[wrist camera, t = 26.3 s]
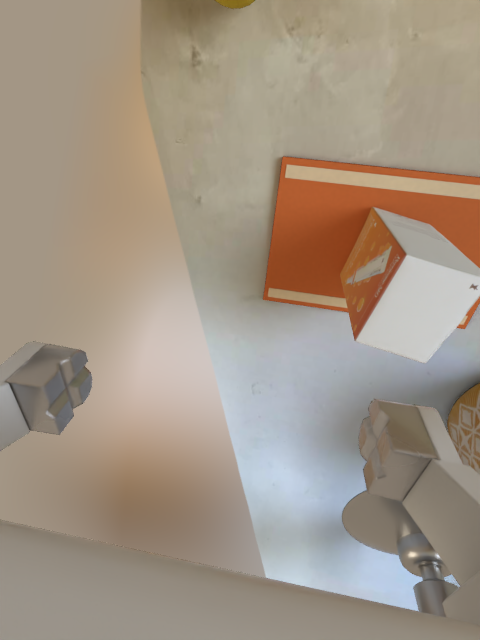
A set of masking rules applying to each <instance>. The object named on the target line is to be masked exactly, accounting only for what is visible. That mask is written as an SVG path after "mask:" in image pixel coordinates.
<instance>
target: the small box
mask: <svg viewBox="0 0 480 640" xmlns="http://www.w3.org/2000/svg"><path fill="white" fill-rule="evenodd" d="M340 277H341V282H342V286H343V290H344V294H345V299H346V304H347V308H348V312H349V317H350V321H351V326H352V330H353V335H354V339H355V341H356V342H358V343H362V344H365V345H368V346H371V347H375V348H378V349H381V350H384V351H387V352H391V353H394V354H397V355H400V356H403V357H406V358H409V359H412V360H415V361H418V362H421V363H426V362H427V361H428V360H429V359H430V358H431V357H432V356H433V354H434V353H435V352H436V351H437V350H438V348H439V347H440V346H441V345H442V343H443V342H444V341H445V340H446V339H447V337H448V336H449V335H450V334H451V333H452V332H453V331H454V330H455V329H456V328H457V326H458V325H459V324H460V323H461V321H462V320H463V318H464V317H465V315H466V314H467V312H468V311H469V310H470V308H471V307H472V306H473V304H474V303H475V302H476V301H477V299H478V298H479V297H480V268H479V267H478V266H476V265H475V264H474V263H473V262H472V261H471V260H470V259H468V258H467V257H466V256H465V255H464V254H463V253H462V252H461V251H460V250H458V249H457V248H456V247H455V246H454V245H453V244H452V243H451V242H450V241H449V240H447V239H446V238H445V237H444V236H443V235H442V234H441V233H439V232H438V231H437V230H436V229H435V228H433V227H432V226H431V225H430V224H427V223H423V222H420V221H417V220H414V219H410V218H407V217H404V216H401V215H398V214H395V213H391V212H388V211H385V210H382V209H379V208H376V207H372V208H371V210H370V213H369V215H368V217H367V220H366V222H365V224H364V226H363V228H362V230H361V233H360V235H359V237H358V239H357V241H356V243H355V245H354V247H353V249H352V251H351V253H350V255H349V257H348V259H347V261H346V263H345V265H344V267H343V269H342V271H341V273H340Z"/></svg>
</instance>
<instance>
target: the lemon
mask: <svg viewBox="0 0 480 640" xmlns="http://www.w3.org/2000/svg"><path fill="white" fill-rule="evenodd" d="M215 1H217V2H218V3H219V4H221V5H222V6H225V7H228V8H232V9H233V8H243V7H246V6H248V5H250V4H251V3H253V2H254V1H255V0H215Z"/></svg>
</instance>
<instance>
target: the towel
mask: <svg viewBox="0 0 480 640" xmlns="http://www.w3.org/2000/svg"><path fill="white" fill-rule="evenodd" d="M372 207H376V208H379V209H382V210H385V211H388V212H391V213H395V214H398V215H401V216H404V217H407V218H410V219H414V220H417V221H420V222H423V223H427V224H430V225H431V226H432V227H433V228H435V229H436V230H437V231H438V232H439V233H441V234H442V235H443V236H444V237H445V238H446V239H447V240H449V241H450V242H451V243H452V244H453V245H454V246H455V247H456V248H457V249H458V250H460V251H461V252H462V253H463V254H464V255H465V256H466V257H467V258H468V259H470V260H471V261H472V262H473V263H474V264H475V265H476V266H478V267H479V268H480V177H472V176H463V175H453V174H444V173H435V172H425V171H416V170H406V169H397V168H388V167H378V166H369V165H359V164H350V163H341V162H331V161H322V160H312V159H303V158H294V157H284V156H283V158H282V165H281V173H280V180H279V187H278V195H277V202H276V209H275V217H274V224H273V231H272V239H271V246H270V253H269V261H268V268H267V275H266V283H265V290H264V297H263V300H269V301H276V302H283V303H290V304H296V305H303V306H310V307H317V308H324V309H331V310H338V311H345V312H348V308H347V304H346V299H345V294H344V290H343V286H342V282H341V277H340V273H341V271H342V269H343V267H344V265H345V263H346V261H347V259H348V257H349V255H350V253H351V251H352V249H353V247H354V245H355V243H356V241H357V239H358V237H359V235H360V233H361V230H362V228H363V226H364V224H365V222H366V220H367V217H368V215H369V213H370V210H371V208H372ZM479 303H480V297H479V298H478V299H477V301H476V302H475V303H474V304H473V306H472V307H471V308H470V310H469V311H468V312H467V314H466V315H465V317H464V318H463V320H462V321H461V323H460V324H459V325H458V326H457V328H461V329H465V328H466V326H467V324H468V322H469V321H470V319H471V317H472V315H473V314H474V312H475V310H476V308H477V307H478V305H479Z"/></svg>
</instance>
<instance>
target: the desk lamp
mask: <svg viewBox="0 0 480 640" xmlns="http://www.w3.org/2000/svg"><path fill="white" fill-rule="evenodd" d="M342 521H343V524H344V527H345V529H346V530H347V531H348V533H349V534H350V535H351V536H352V537H354V538H355V539H356V540H358V541H359V542H361V543H363V544H364V545H366V546H369V547H371V548H373V549H376V550H379V551H382V552H386V553H390V554H395V555H399V559H400V561H401V563H402V565H403V566H404V568H406V569H407V570H408V571H409V572H410V573H412V574H414V575H416V576H420V577H422V579H423V581H421V582H419V583H417V584H416V585H415V586H414V587H413V589H414V593H415V597H416V601H417V605H418V610H419V612H423V613H428V614H432V615H437V616H441V617H446V615H445V612H444V608H443V605H442V603H443V602H444V600H445V599H446V598H447V597H448V596H449V595H451V594H452V593H453V592H454V591H455V590H457V589H458V587H457V586H456V585H454V584H452V583H449V582H446V581H445V580H444V577H446V576H449V575H451V572H450V571H449V569H448V568H447V566H446V565H445V564H444V562H443V561H442V559H441V558H440V557H439V555H438V554H437V552H436V551H435V550H434V548H433V547H432V545H431V544H430V542H429V541H428V540H427V538H426V537H425V535H424V534H423V533H422V531H421V530H420V528H419V527H418V526H417V524H416V523H415V521H414V520H413V519H412V517H411V516H410V514H409V513H408V511H407V510H406V509H405V507H404V506H403V504H402V502H401V501H397V500H392V499H388V498H383V497H378V496H374V495H369V494H368V493H367V491H365V492H363V493H361V494H359V495H357V496H356V497H355V498H353V499H352V500H351V501H350V502H349V503H348V504H347V505H346V507H345V508H344V511H343V515H342Z"/></svg>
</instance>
